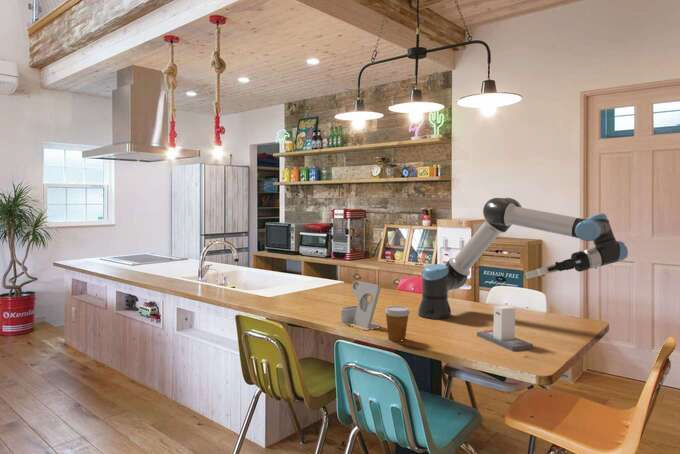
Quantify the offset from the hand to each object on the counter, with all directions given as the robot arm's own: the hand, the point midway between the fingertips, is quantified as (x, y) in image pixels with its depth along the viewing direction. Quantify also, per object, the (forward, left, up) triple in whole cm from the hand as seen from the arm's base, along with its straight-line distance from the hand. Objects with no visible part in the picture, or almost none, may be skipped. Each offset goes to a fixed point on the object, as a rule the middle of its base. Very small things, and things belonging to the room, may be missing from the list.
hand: (532, 274), depth 187 cm
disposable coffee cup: (-16, -50, -26) cm, 58 cm away
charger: (+4, -16, -24) cm, 29 cm away
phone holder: (-41, -55, -26) cm, 73 cm away
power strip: (+4, -16, -26) cm, 30 cm away
